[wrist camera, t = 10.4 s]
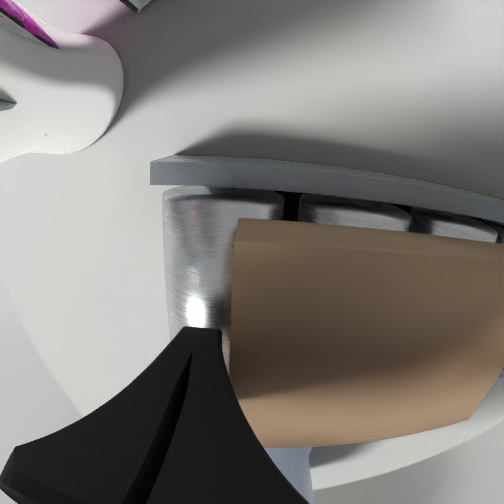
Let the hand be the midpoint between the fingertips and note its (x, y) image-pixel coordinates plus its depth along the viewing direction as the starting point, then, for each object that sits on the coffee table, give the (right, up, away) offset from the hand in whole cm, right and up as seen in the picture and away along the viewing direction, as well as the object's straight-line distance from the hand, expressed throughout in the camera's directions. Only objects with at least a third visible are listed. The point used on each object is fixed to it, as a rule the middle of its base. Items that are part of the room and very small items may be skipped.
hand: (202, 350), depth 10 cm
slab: (+7, 0, +1) cm, 7 cm away
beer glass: (-7, +11, +2) cm, 13 cm away
